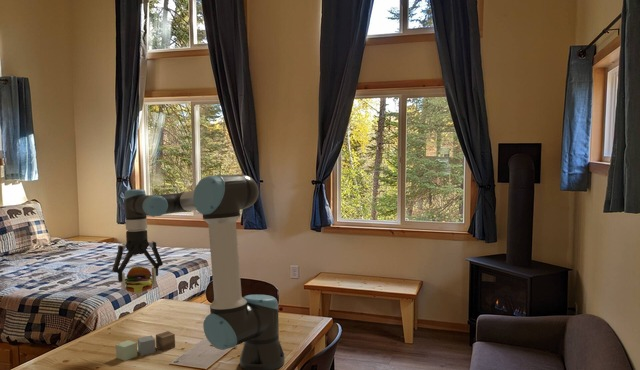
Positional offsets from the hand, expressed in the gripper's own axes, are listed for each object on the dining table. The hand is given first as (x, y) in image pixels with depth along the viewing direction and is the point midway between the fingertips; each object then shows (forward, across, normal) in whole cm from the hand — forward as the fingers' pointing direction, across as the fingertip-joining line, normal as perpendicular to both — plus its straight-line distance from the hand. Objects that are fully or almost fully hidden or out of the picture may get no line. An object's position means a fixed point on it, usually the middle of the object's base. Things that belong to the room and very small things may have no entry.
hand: (139, 287), depth 184 cm
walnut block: (+22, -6, +10) cm, 25 cm away
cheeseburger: (+1, 0, 0) cm, 1 cm away
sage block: (+22, +8, +10) cm, 25 cm away
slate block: (+22, +1, +10) cm, 24 cm away
